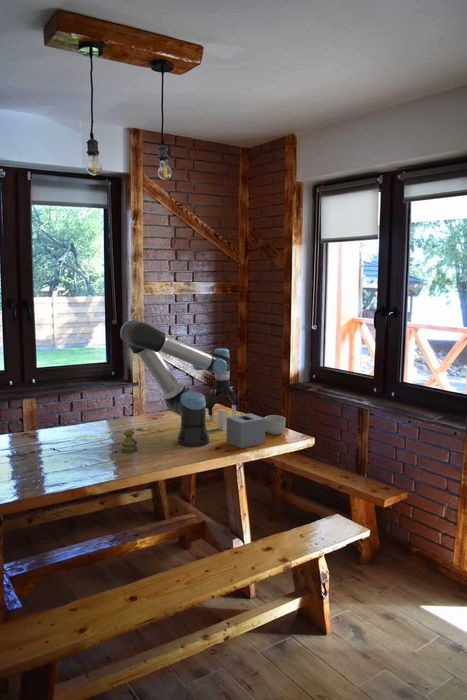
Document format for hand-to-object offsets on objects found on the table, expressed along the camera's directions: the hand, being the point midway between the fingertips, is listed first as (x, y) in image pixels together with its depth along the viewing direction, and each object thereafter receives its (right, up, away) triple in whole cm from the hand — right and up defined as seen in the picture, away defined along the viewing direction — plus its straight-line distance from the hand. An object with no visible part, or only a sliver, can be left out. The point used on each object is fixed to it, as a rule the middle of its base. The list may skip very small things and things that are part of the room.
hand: (223, 419), depth 299 cm
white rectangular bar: (0, -5, +1) cm, 5 cm away
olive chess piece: (-42, -10, -35) cm, 56 cm away
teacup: (+25, -6, -7) cm, 26 cm away
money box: (+11, -8, -22) cm, 26 cm away
